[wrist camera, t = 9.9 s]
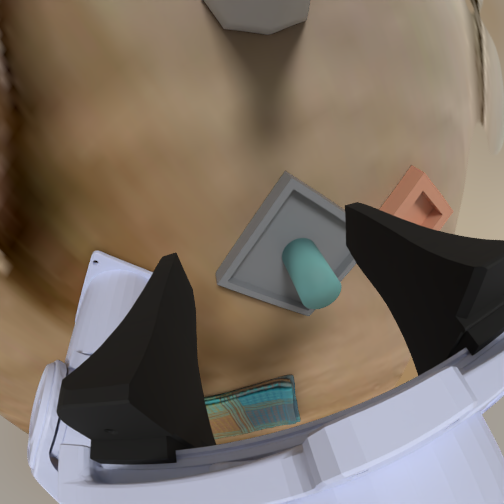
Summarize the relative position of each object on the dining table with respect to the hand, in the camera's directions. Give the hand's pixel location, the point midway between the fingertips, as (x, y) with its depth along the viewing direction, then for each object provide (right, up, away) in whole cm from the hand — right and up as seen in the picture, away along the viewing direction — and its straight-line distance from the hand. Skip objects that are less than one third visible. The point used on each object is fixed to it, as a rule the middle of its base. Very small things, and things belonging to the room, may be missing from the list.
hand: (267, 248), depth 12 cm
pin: (+3, 0, +12) cm, 12 cm away
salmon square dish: (+14, +4, +13) cm, 19 cm away
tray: (+3, 0, +12) cm, 13 cm away
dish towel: (-5, -26, +29) cm, 39 cm away
